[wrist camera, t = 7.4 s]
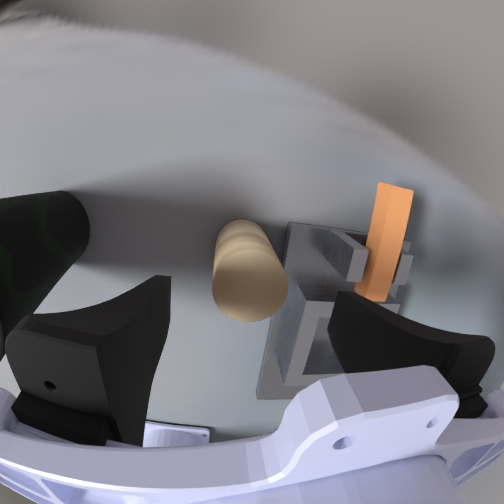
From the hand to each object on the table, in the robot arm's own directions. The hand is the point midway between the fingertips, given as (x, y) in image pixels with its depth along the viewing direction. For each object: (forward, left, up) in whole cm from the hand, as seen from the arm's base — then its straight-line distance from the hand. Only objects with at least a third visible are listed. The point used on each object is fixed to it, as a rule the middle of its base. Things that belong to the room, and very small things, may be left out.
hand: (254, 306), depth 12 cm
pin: (+2, -8, -5) cm, 10 cm away
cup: (0, +14, -9) cm, 17 cm away
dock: (-6, -8, -9) cm, 13 cm away
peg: (0, 0, -9) cm, 9 cm away
